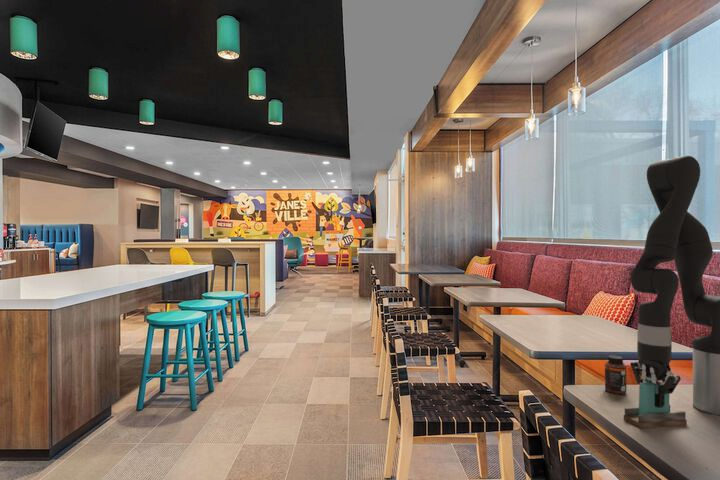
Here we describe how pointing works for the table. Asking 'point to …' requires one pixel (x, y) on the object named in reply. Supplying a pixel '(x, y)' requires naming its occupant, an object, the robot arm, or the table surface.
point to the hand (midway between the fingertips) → (654, 404)
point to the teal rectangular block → (650, 400)
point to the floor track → (654, 418)
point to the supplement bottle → (615, 375)
